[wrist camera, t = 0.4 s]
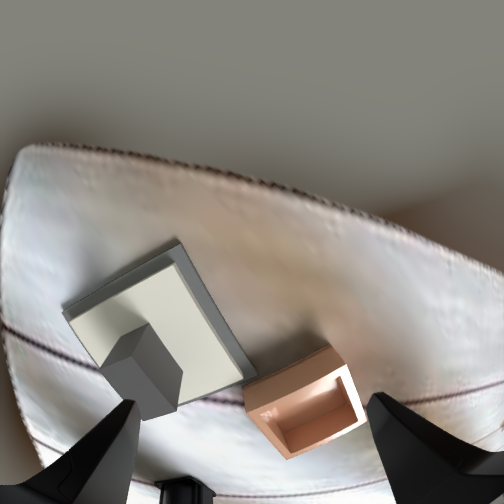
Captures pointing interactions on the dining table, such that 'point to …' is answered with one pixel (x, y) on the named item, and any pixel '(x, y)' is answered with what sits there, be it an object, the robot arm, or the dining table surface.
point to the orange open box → (305, 403)
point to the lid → (156, 344)
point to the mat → (197, 288)
